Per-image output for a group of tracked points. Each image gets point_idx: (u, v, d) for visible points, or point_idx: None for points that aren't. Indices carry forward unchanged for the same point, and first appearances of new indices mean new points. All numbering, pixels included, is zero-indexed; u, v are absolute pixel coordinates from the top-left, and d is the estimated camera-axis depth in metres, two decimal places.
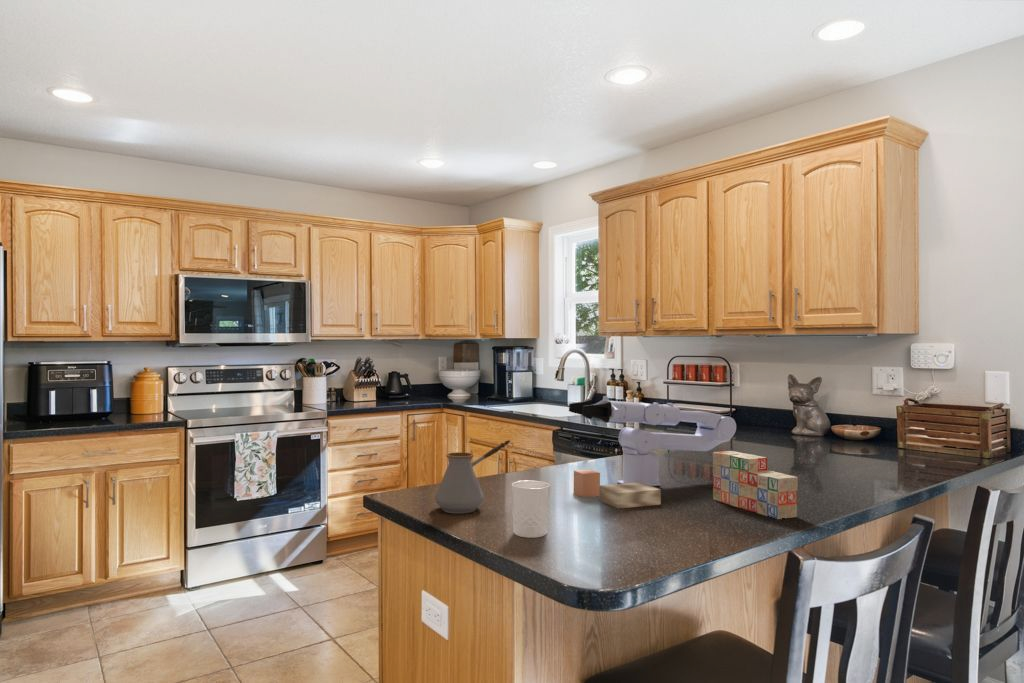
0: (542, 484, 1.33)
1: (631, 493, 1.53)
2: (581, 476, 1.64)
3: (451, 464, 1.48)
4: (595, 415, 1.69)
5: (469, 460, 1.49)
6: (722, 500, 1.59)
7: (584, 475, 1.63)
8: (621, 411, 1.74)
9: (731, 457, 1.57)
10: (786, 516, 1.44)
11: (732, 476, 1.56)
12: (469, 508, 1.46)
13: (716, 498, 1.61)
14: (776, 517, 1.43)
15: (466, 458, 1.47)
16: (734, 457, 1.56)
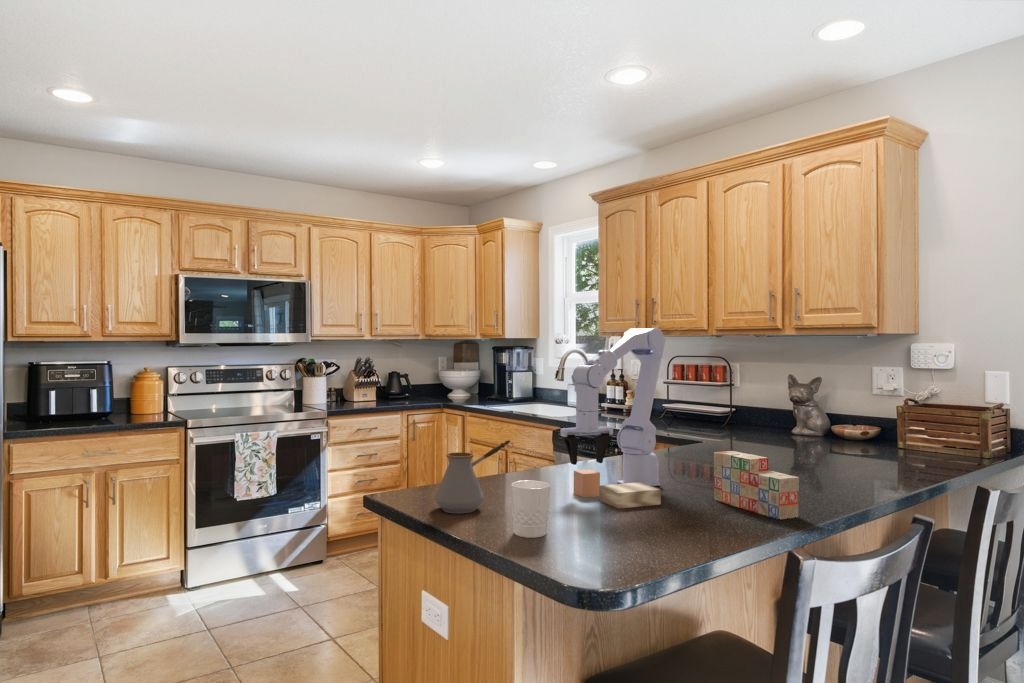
0: (542, 484, 1.33)
1: (631, 493, 1.53)
2: (581, 476, 1.64)
3: (451, 464, 1.48)
4: None
5: (469, 460, 1.48)
6: (723, 500, 1.59)
7: (584, 475, 1.63)
8: None
9: (732, 457, 1.56)
10: (787, 516, 1.44)
11: (734, 476, 1.56)
12: (469, 508, 1.46)
13: (717, 498, 1.61)
14: (777, 517, 1.43)
15: (466, 458, 1.47)
16: (735, 457, 1.55)
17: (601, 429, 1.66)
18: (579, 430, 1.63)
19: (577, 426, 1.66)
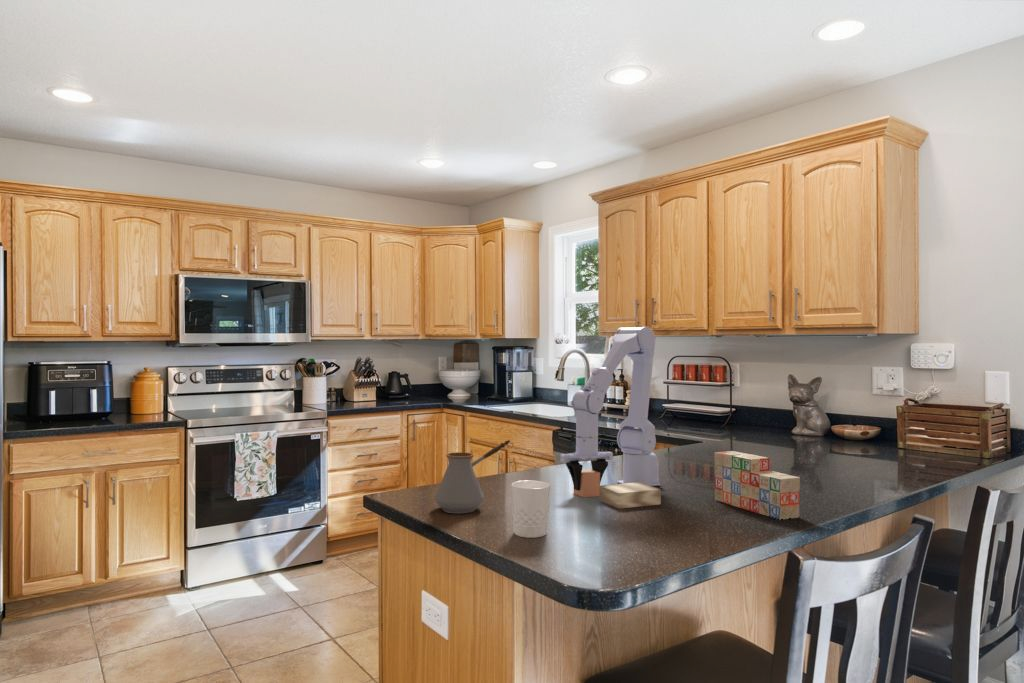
0: (542, 484, 1.34)
1: (632, 493, 1.53)
2: (581, 476, 1.64)
3: (451, 464, 1.48)
4: None
5: (469, 460, 1.49)
6: (724, 500, 1.59)
7: (584, 475, 1.63)
8: None
9: (733, 457, 1.56)
10: (788, 516, 1.44)
11: (734, 477, 1.56)
12: (469, 508, 1.46)
13: (718, 498, 1.61)
14: (778, 518, 1.43)
15: (466, 458, 1.47)
16: (736, 457, 1.55)
17: (601, 455, 1.66)
18: (579, 456, 1.63)
19: (577, 452, 1.66)
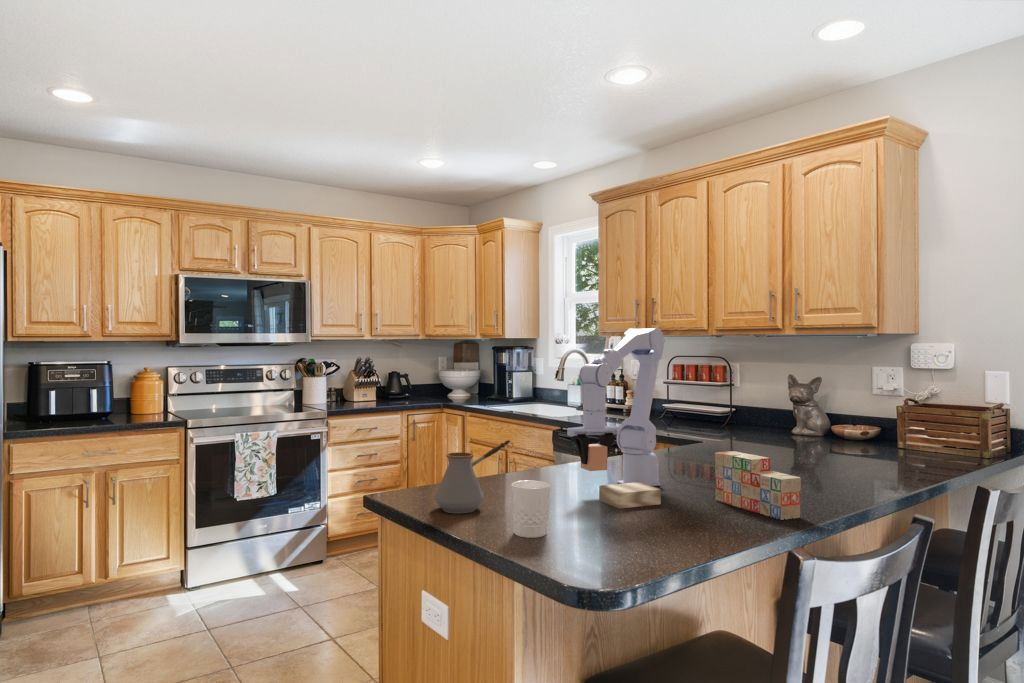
0: (542, 484, 1.33)
1: (632, 493, 1.53)
2: (588, 450, 1.63)
3: (451, 464, 1.48)
4: None
5: (469, 460, 1.48)
6: (724, 501, 1.59)
7: (591, 448, 1.62)
8: None
9: (734, 457, 1.56)
10: (789, 517, 1.44)
11: (735, 477, 1.55)
12: (469, 508, 1.46)
13: (718, 499, 1.61)
14: (779, 518, 1.43)
15: (466, 458, 1.47)
16: (737, 457, 1.55)
17: (608, 428, 1.64)
18: (586, 430, 1.62)
19: (584, 426, 1.64)
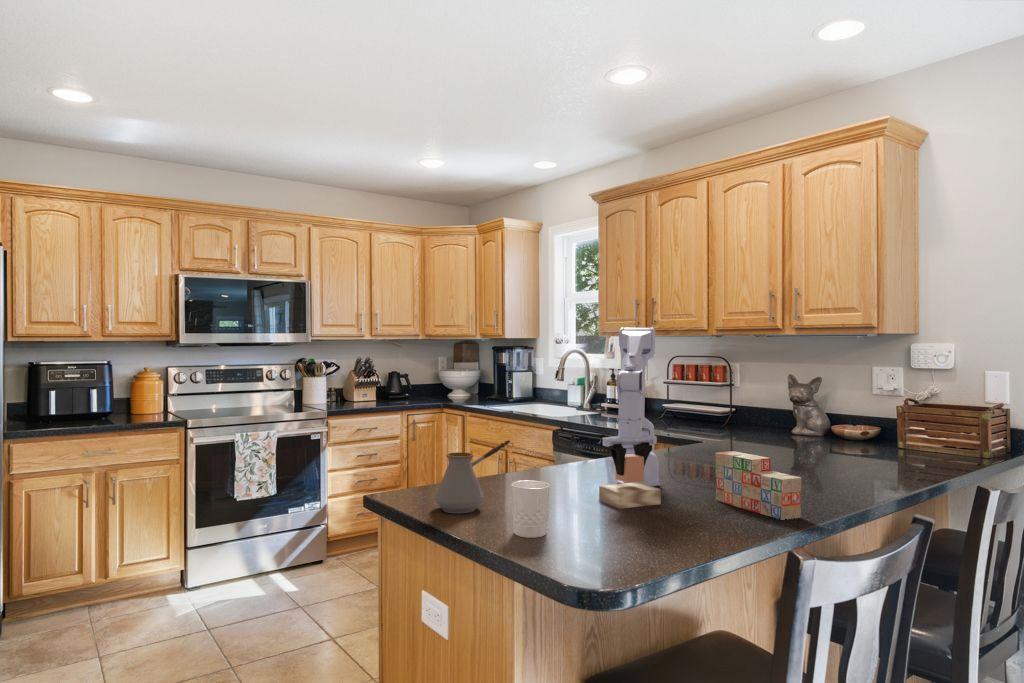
0: (542, 484, 1.33)
1: (632, 493, 1.53)
2: (624, 460, 1.56)
3: (451, 464, 1.48)
4: None
5: (469, 460, 1.49)
6: (725, 501, 1.59)
7: (627, 459, 1.56)
8: None
9: (734, 458, 1.56)
10: (790, 517, 1.44)
11: (736, 477, 1.55)
12: (469, 508, 1.46)
13: (719, 499, 1.61)
14: (780, 518, 1.43)
15: (466, 458, 1.47)
16: (737, 458, 1.55)
17: (645, 438, 1.58)
18: (622, 439, 1.56)
19: (620, 435, 1.58)
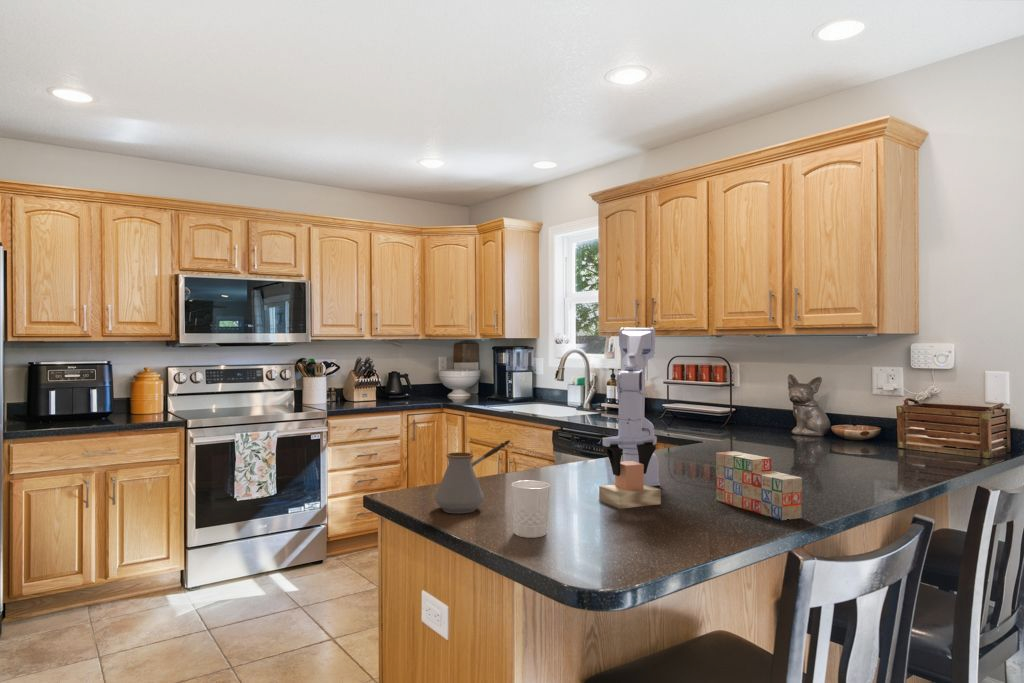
0: (542, 484, 1.33)
1: (632, 493, 1.53)
2: (624, 468, 1.56)
3: (451, 464, 1.48)
4: None
5: (469, 460, 1.49)
6: (725, 501, 1.58)
7: (627, 467, 1.56)
8: None
9: (735, 458, 1.56)
10: (790, 517, 1.43)
11: (736, 477, 1.55)
12: (469, 508, 1.46)
13: (719, 499, 1.60)
14: (780, 518, 1.43)
15: (466, 458, 1.47)
16: (738, 458, 1.55)
17: (645, 438, 1.58)
18: (622, 439, 1.56)
19: (620, 435, 1.58)
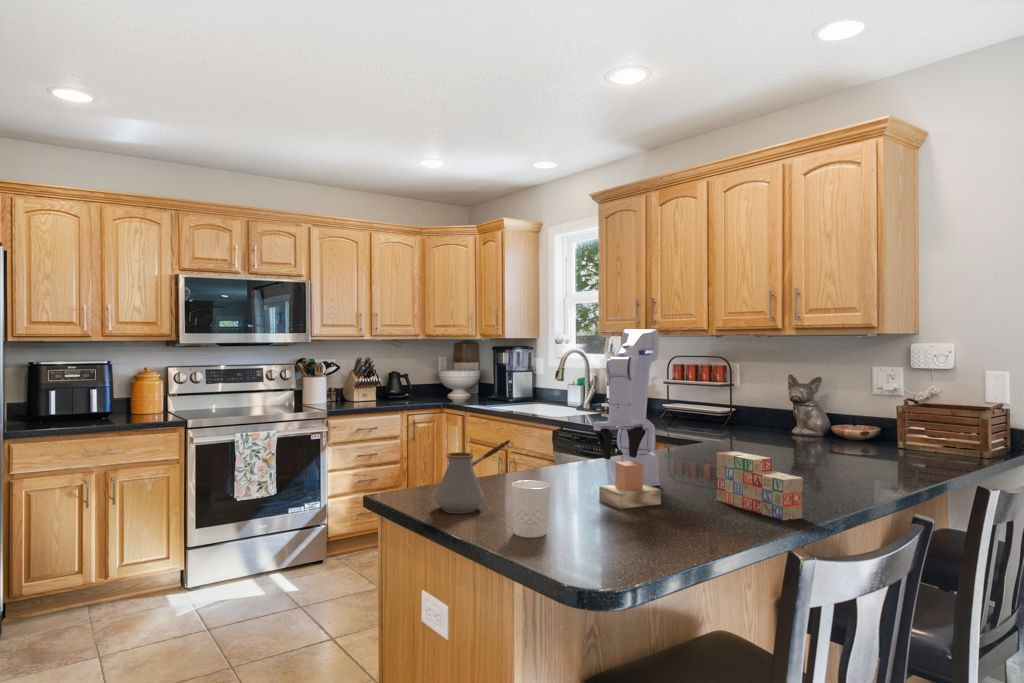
0: (542, 484, 1.33)
1: (632, 493, 1.53)
2: (623, 468, 1.56)
3: (451, 464, 1.48)
4: None
5: (469, 460, 1.49)
6: (726, 501, 1.58)
7: (626, 467, 1.55)
8: None
9: (735, 458, 1.56)
10: (791, 517, 1.43)
11: (737, 477, 1.55)
12: (469, 508, 1.46)
13: (720, 499, 1.60)
14: (781, 518, 1.42)
15: (466, 458, 1.47)
16: (738, 458, 1.55)
17: (635, 423, 1.61)
18: (613, 424, 1.59)
19: (610, 420, 1.61)
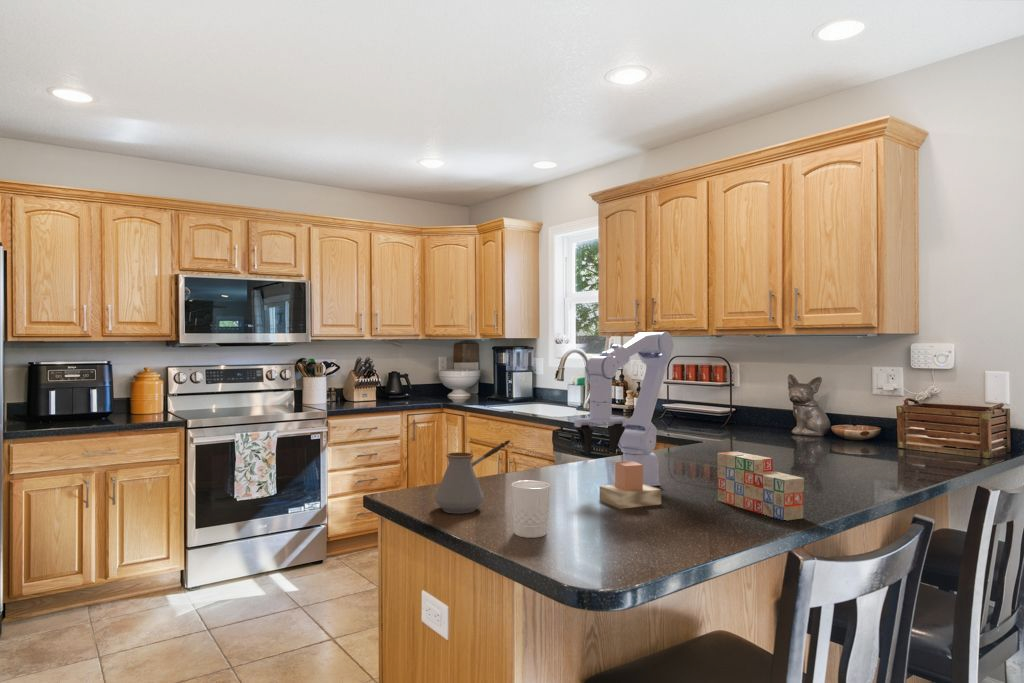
0: (542, 484, 1.34)
1: (632, 493, 1.53)
2: (623, 468, 1.56)
3: (451, 464, 1.48)
4: None
5: (469, 460, 1.49)
6: (727, 501, 1.58)
7: (626, 467, 1.55)
8: None
9: (736, 458, 1.55)
10: (792, 517, 1.43)
11: (738, 477, 1.55)
12: (469, 508, 1.46)
13: (721, 499, 1.60)
14: (782, 518, 1.42)
15: (466, 458, 1.47)
16: (739, 458, 1.54)
17: (614, 419, 1.67)
18: (593, 420, 1.65)
19: (591, 417, 1.67)
